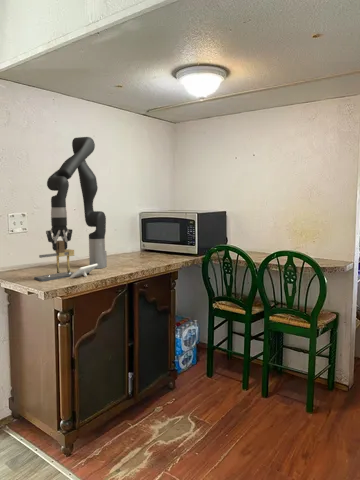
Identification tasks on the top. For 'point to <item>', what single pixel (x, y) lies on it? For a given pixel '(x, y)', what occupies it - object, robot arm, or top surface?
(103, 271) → the top surface
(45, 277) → the bolt plate
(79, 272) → the light switch
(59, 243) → the block
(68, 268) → the dividers frame
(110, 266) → the top surface
